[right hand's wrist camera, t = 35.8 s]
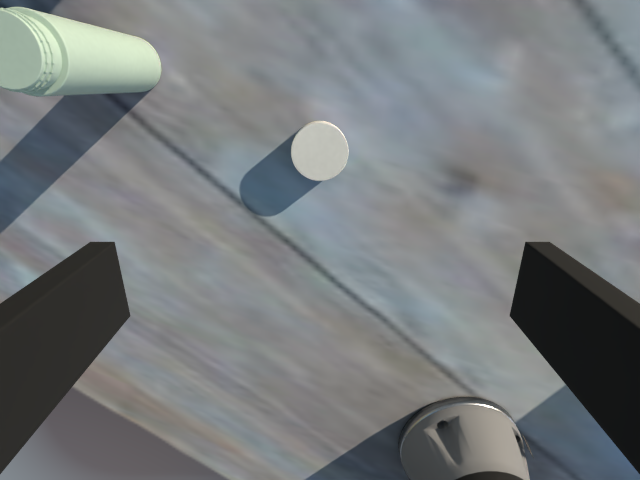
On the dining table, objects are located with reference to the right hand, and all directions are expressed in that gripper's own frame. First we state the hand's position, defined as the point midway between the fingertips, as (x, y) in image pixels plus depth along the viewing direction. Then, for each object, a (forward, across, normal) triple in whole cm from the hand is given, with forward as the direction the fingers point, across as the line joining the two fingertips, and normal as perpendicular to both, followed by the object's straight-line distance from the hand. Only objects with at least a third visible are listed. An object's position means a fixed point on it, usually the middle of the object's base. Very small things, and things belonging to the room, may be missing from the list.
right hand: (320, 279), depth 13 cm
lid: (+24, 0, 0) cm, 24 cm away
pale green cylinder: (+26, +16, -8) cm, 31 cm away
